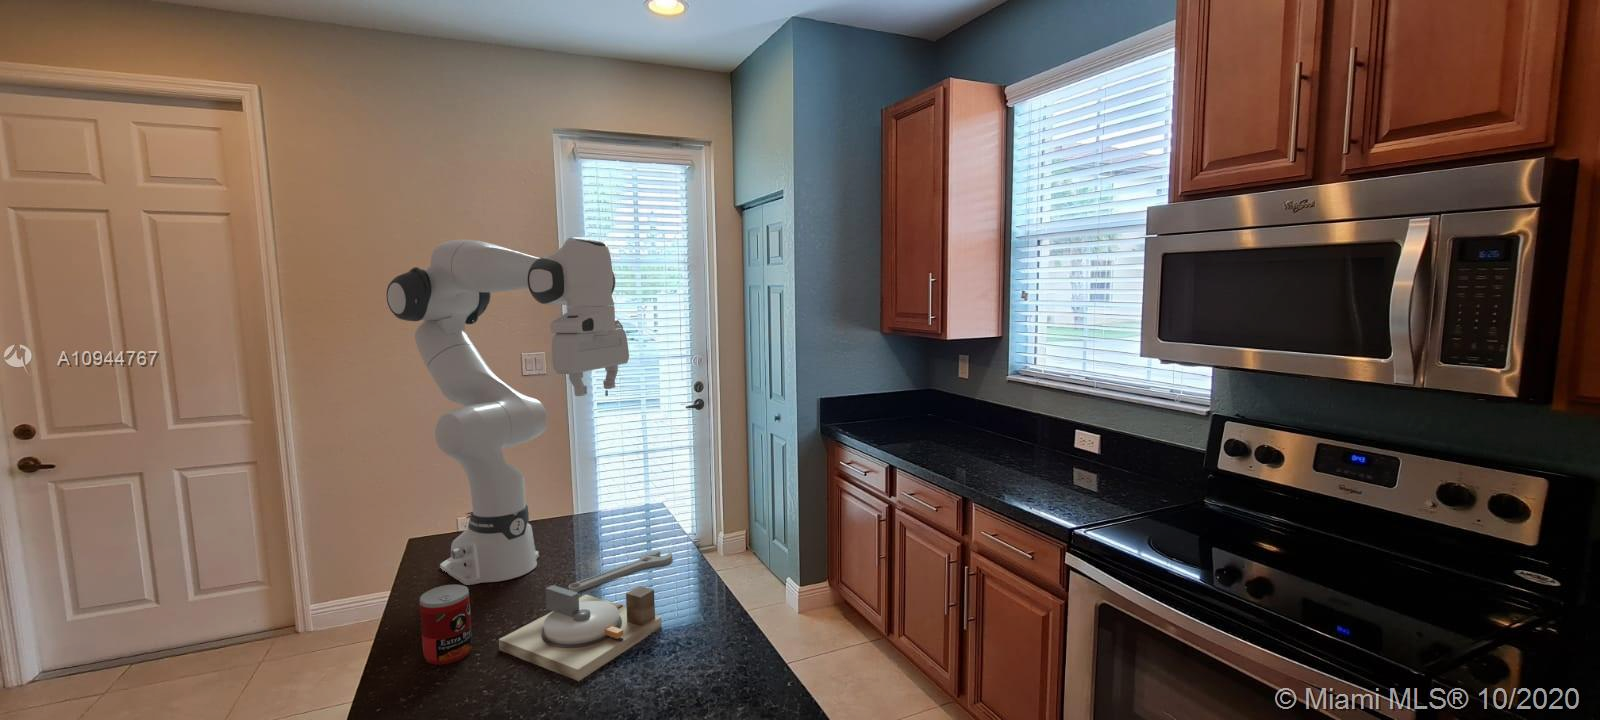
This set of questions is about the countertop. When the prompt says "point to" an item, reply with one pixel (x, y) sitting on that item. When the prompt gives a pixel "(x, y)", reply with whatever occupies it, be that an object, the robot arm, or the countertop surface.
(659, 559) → the adjustable wrench
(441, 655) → the canned food
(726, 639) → the countertop surface
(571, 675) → the panel
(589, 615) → the dial
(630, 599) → the block
